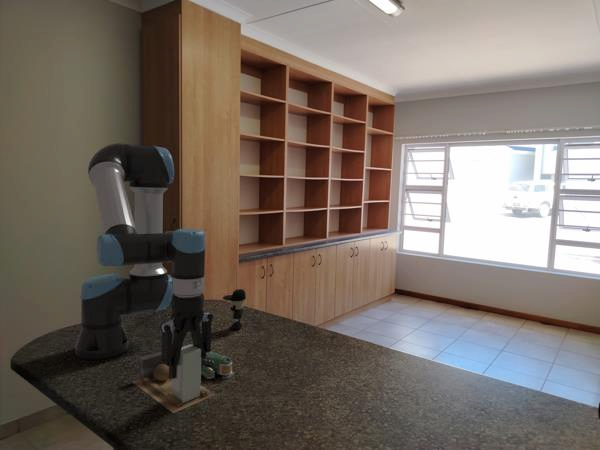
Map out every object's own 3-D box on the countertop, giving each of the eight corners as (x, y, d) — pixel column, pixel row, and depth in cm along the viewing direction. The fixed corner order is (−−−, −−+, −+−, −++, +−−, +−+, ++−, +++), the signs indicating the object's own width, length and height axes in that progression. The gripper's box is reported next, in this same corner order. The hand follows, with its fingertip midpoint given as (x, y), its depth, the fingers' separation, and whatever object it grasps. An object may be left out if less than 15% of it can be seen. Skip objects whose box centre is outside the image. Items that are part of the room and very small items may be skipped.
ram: (171, 395, 101) (171, 348, 99) (188, 388, 104) (189, 343, 103) (182, 403, 97) (183, 355, 96) (199, 395, 101) (201, 349, 100)
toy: (225, 323, 156) (226, 285, 155) (247, 325, 155) (248, 287, 154) (219, 330, 149) (220, 290, 147) (242, 332, 148) (243, 292, 146)
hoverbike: (221, 389, 108) (222, 359, 107) (150, 367, 118) (150, 340, 117) (241, 374, 117) (242, 346, 116) (173, 355, 127) (174, 329, 126)
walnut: (150, 380, 108) (150, 364, 108) (165, 374, 111) (165, 359, 111) (158, 386, 105) (158, 370, 105) (173, 380, 108) (174, 364, 108)
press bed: (132, 386, 107) (132, 360, 106) (173, 371, 116) (173, 347, 115) (173, 417, 94) (173, 388, 93) (215, 398, 103) (216, 371, 102)
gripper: (161, 304, 89) (160, 405, 91) (227, 290, 102) (225, 378, 105) (144, 296, 94) (144, 392, 96) (209, 284, 107) (207, 369, 109)
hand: (186, 385), depth 100 cm, fingers closed on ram, 5 cm apart
